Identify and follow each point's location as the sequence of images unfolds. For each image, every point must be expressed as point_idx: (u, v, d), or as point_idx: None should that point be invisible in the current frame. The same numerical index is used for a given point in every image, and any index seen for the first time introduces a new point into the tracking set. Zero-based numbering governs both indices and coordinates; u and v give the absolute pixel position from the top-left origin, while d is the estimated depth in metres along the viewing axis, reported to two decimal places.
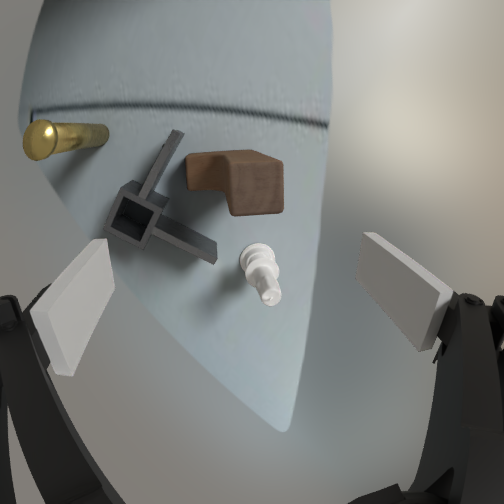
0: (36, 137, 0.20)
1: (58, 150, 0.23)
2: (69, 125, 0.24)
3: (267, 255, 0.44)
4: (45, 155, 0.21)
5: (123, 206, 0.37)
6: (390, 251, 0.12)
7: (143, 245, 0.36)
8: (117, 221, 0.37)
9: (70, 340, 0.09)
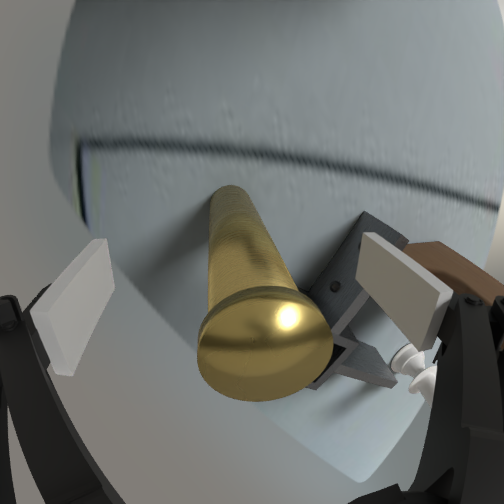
0: (263, 353, 0.08)
1: None
2: (275, 250, 0.12)
3: (423, 355, 0.32)
4: (291, 391, 0.09)
5: None
6: (390, 251, 0.12)
7: (318, 385, 0.24)
8: None
9: (70, 340, 0.09)
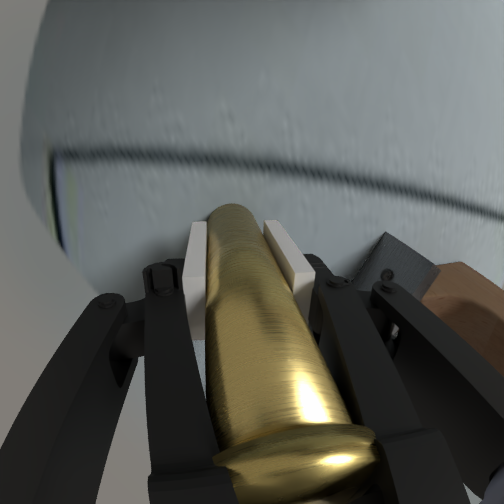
0: (294, 503, 0.04)
1: None
2: (300, 317, 0.08)
3: None
4: None
5: None
6: (275, 236, 0.14)
7: None
8: None
9: None
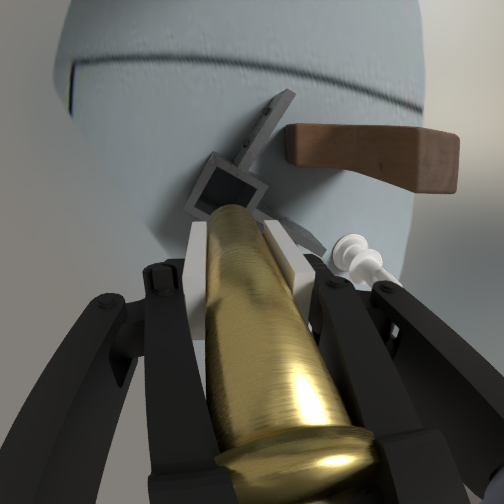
0: None
1: None
2: (300, 319, 0.08)
3: (364, 247, 0.37)
4: None
5: None
6: (275, 236, 0.14)
7: None
8: (196, 201, 0.30)
9: None
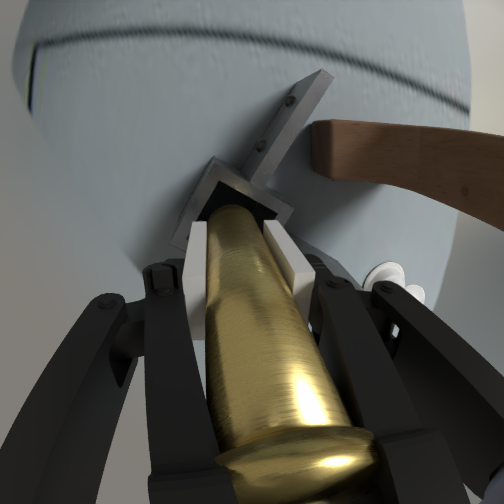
0: None
1: None
2: (300, 319, 0.08)
3: (402, 279, 0.28)
4: None
5: None
6: (275, 236, 0.14)
7: None
8: None
9: None
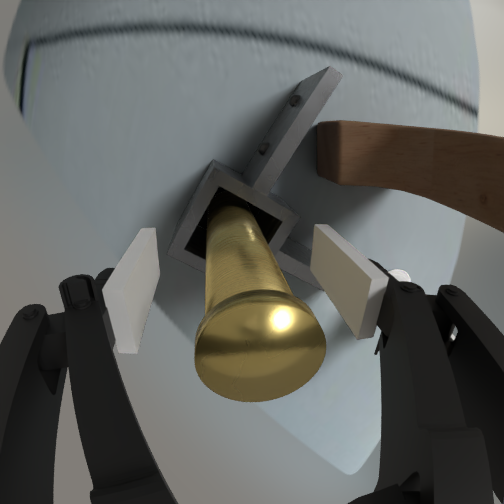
0: (258, 354, 0.08)
1: None
2: (271, 255, 0.12)
3: None
4: (286, 392, 0.09)
5: None
6: (334, 241, 0.13)
7: None
8: None
9: (136, 319, 0.10)
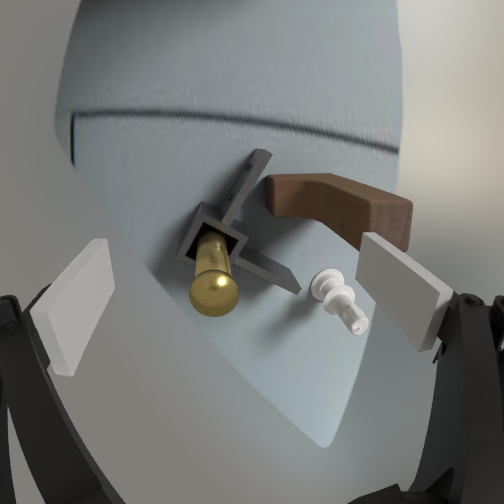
0: (212, 293, 0.23)
1: None
2: (224, 258, 0.27)
3: (340, 281, 0.42)
4: (225, 312, 0.23)
5: None
6: (390, 251, 0.12)
7: None
8: None
9: (70, 340, 0.09)
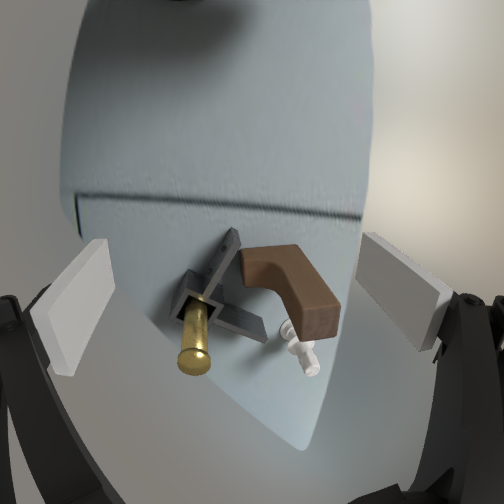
0: (192, 362, 0.32)
1: None
2: (203, 330, 0.36)
3: None
4: (202, 373, 0.32)
5: None
6: (390, 251, 0.12)
7: None
8: None
9: (70, 340, 0.09)
